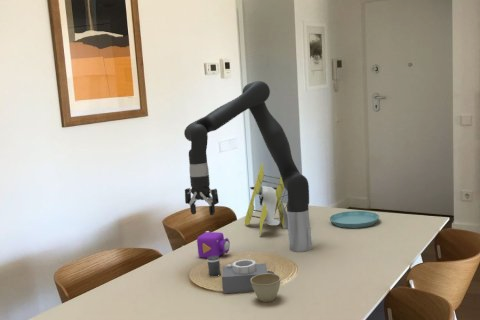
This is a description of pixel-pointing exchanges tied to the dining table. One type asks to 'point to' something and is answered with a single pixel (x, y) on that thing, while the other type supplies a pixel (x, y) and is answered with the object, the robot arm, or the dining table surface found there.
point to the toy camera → (212, 244)
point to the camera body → (241, 275)
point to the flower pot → (266, 286)
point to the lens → (213, 265)
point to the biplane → (268, 202)
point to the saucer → (354, 219)
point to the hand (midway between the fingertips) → (202, 214)
